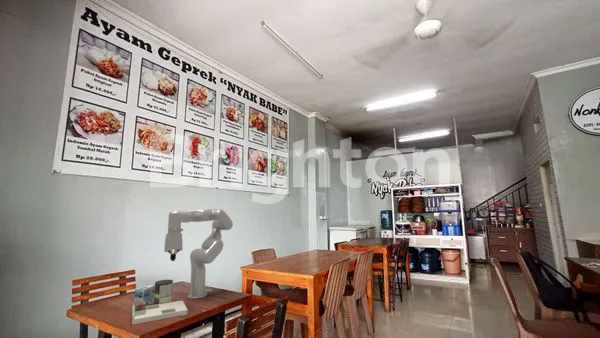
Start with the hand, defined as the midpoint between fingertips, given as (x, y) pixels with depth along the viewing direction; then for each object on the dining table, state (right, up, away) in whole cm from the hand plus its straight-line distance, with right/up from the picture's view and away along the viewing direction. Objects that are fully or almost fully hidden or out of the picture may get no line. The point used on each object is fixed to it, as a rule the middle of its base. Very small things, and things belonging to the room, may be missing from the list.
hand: (172, 260), depth 178 cm
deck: (0, -25, -17) cm, 30 cm away
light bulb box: (-18, -28, -1) cm, 33 cm away
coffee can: (-6, -27, -2) cm, 28 cm away
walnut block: (-8, -22, -22) cm, 32 cm away
